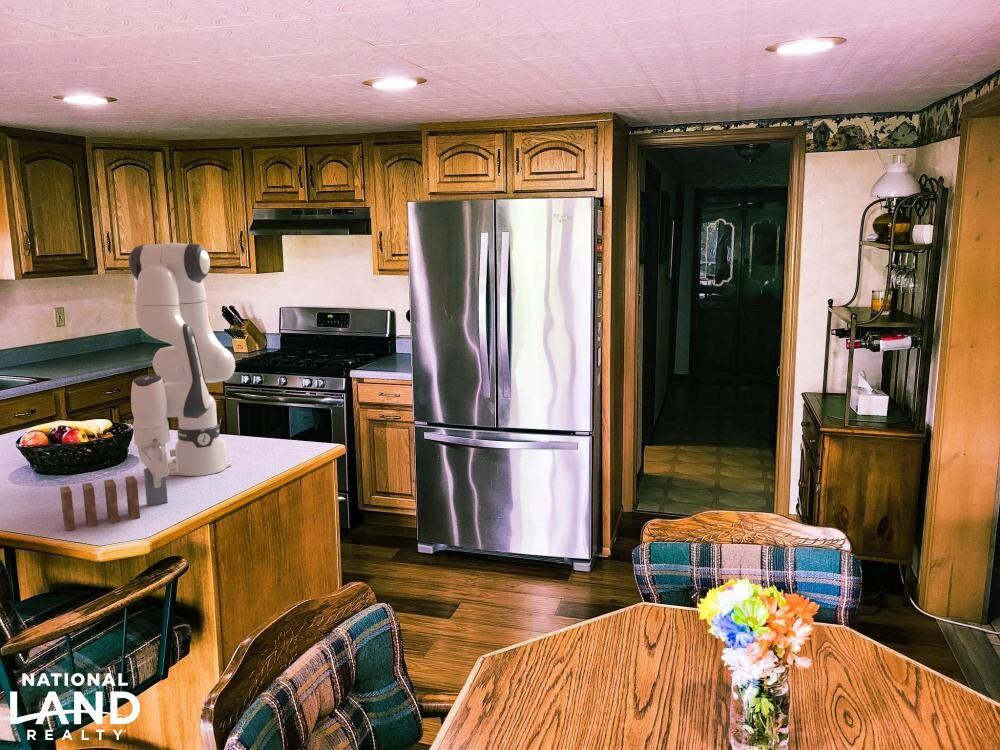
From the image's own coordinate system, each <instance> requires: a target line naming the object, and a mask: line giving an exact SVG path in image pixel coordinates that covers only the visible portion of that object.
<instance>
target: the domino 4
mask: <svg viewBox="0 0 1000 750" xmlns="http://www.w3.org/2000/svg"><path fill="white" fill-rule="evenodd" d="M124 481H125V491H126V501H127V504H126V505H127V512H128V513H127V514H128V515H129V517H130V519H131V520H136V519H140V518H141V511H140V503H139V502H140V500H139V499H140V497H139V489H138V481H137V479H136V477H135V476H134V475H131V476H125V480H124Z"/></svg>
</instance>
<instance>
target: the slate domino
mask: <svg viewBox="0 0 1000 750" xmlns="http://www.w3.org/2000/svg"><path fill="white" fill-rule="evenodd" d="M143 475H144V476H143V478H144V486H145V487H144V490H145V498H146V499H145V501H146V505H147V507H149V506H150V507H151V506H155V505H156V506H157V505H161V504H167V503H168V502H169V501H168V487H167V478H166V477H161V487H158V488H154V486H153V476H152V474H151V473H150V471H149V470H148V469H147V468H146V467H145V468H143Z"/></svg>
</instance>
